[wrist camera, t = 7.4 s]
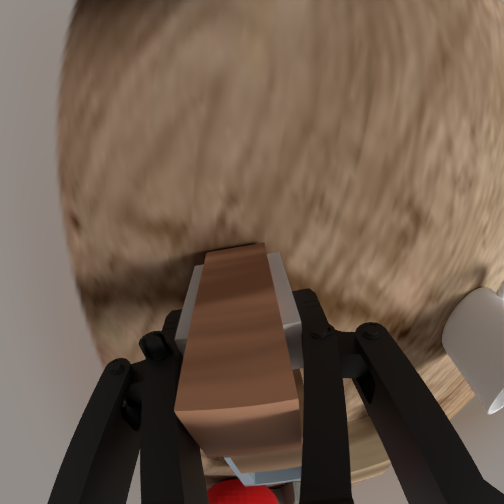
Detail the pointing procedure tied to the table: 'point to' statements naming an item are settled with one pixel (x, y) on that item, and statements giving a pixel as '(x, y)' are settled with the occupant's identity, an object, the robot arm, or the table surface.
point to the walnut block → (241, 367)
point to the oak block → (366, 450)
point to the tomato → (240, 493)
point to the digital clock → (288, 493)
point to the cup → (479, 344)
